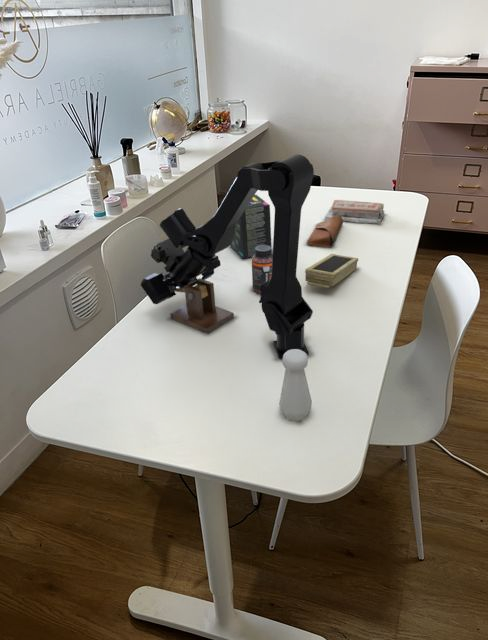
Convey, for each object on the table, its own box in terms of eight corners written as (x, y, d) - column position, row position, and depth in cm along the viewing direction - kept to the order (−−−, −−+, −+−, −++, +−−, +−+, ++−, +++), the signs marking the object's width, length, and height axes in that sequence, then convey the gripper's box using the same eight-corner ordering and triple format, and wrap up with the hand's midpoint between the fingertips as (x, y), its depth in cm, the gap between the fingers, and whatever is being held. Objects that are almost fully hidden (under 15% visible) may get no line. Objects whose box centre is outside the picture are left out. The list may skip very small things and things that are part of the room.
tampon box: (272, 254, 162) (271, 204, 154) (242, 259, 159) (239, 209, 151) (258, 241, 171) (256, 193, 163) (229, 246, 168) (226, 198, 160)
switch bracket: (170, 318, 132) (166, 284, 127) (197, 303, 138) (194, 271, 133) (207, 334, 126) (203, 299, 121) (234, 318, 131) (231, 284, 127)
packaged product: (386, 200, 184) (381, 210, 176) (384, 214, 186) (380, 225, 179) (332, 196, 189) (325, 205, 181) (331, 210, 192) (324, 220, 184)
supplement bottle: (273, 295, 140) (272, 253, 134) (250, 294, 141) (248, 252, 135) (278, 284, 145) (277, 243, 139) (255, 283, 146) (253, 242, 140)
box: (302, 288, 140) (304, 269, 138) (331, 267, 159) (333, 250, 156) (334, 294, 137) (336, 275, 135) (360, 272, 156) (362, 254, 153)
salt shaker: (310, 403, 104) (311, 343, 97) (313, 423, 99) (314, 362, 92) (278, 404, 104) (277, 345, 97) (280, 424, 99) (279, 363, 92)
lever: (159, 296, 136) (156, 282, 134) (170, 291, 138) (167, 277, 137) (200, 302, 127) (196, 287, 125) (211, 296, 129) (207, 281, 128)
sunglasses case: (316, 222, 180) (327, 205, 177) (334, 234, 181) (346, 218, 177) (305, 244, 166) (317, 226, 162) (325, 257, 167) (337, 239, 163)
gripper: (201, 220, 131) (174, 253, 143) (139, 245, 119) (115, 279, 131) (228, 259, 131) (199, 289, 143) (169, 289, 119) (142, 318, 131)
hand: (165, 293), depth 137 cm, fingers closed on lever, 3 cm apart
